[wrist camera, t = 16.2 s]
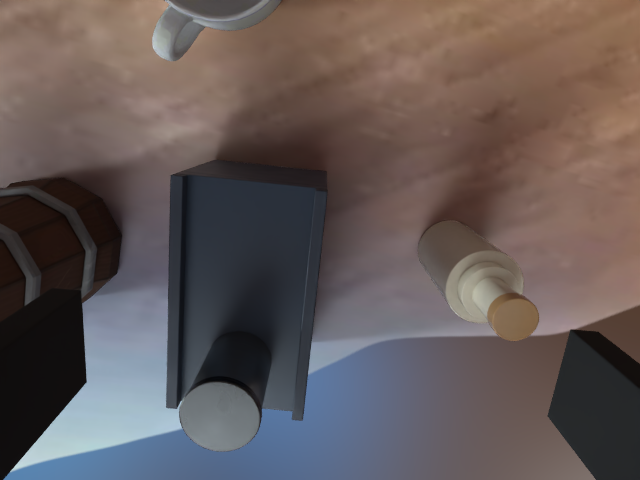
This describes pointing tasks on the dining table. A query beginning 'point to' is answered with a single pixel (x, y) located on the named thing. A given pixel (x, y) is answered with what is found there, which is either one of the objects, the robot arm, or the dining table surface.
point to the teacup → (204, 21)
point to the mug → (53, 241)
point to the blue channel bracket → (244, 270)
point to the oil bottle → (477, 279)
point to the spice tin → (227, 393)
